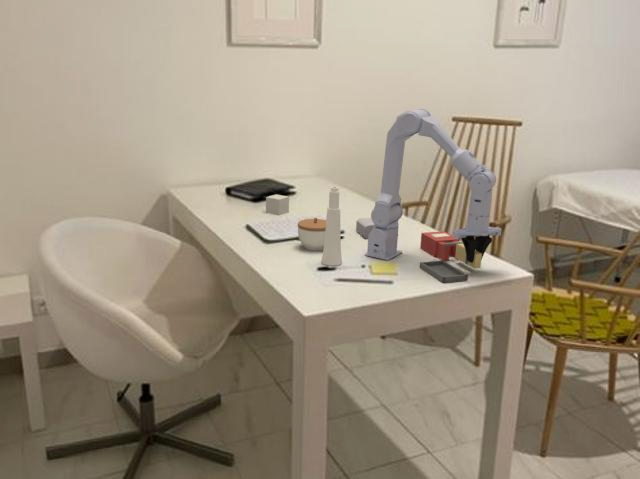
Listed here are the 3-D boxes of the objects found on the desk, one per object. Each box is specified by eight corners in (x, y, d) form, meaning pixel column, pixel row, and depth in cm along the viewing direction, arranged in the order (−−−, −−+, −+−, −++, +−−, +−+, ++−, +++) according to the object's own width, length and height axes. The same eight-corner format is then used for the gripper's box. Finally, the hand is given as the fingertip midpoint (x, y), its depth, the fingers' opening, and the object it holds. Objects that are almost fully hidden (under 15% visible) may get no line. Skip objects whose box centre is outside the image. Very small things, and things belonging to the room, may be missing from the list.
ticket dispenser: (465, 258, 195) (466, 242, 194) (441, 261, 192) (443, 244, 191) (442, 246, 207) (444, 230, 205) (420, 248, 204) (421, 232, 202)
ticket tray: (467, 280, 177) (467, 274, 176) (442, 283, 174) (443, 277, 174) (442, 265, 189) (443, 260, 188) (419, 267, 186) (419, 262, 186)
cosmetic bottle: (346, 262, 188) (349, 187, 182) (332, 267, 184) (335, 190, 178) (330, 257, 192) (333, 184, 186) (316, 262, 188) (319, 187, 181)
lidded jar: (338, 246, 203) (339, 217, 201) (320, 255, 195) (321, 224, 192) (309, 240, 209) (309, 211, 206) (290, 248, 200) (291, 218, 197)
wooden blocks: (480, 268, 182) (482, 253, 181) (474, 268, 182) (475, 254, 181) (461, 257, 191) (462, 243, 190) (455, 257, 191) (456, 243, 190)
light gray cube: (288, 212, 242) (289, 196, 241) (278, 215, 238) (279, 199, 236) (276, 210, 246) (276, 194, 244) (265, 213, 241) (266, 197, 239)
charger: (374, 226, 228) (391, 238, 215) (349, 227, 226) (364, 239, 212) (375, 212, 227) (392, 224, 213) (350, 214, 224) (365, 225, 211)
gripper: (464, 219, 173) (459, 267, 177) (510, 216, 178) (504, 263, 182) (450, 212, 180) (445, 259, 184) (494, 210, 185) (489, 255, 189)
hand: (473, 261), depth 183 cm, fingers closed on wooden blocks, 2 cm apart
